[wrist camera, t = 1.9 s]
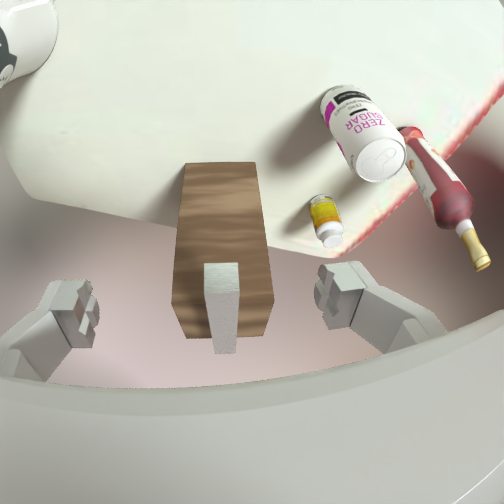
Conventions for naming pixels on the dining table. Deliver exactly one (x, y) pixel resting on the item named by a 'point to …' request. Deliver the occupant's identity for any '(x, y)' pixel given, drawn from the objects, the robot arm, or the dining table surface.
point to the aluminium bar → (222, 304)
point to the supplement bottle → (326, 220)
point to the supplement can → (363, 134)
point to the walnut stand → (221, 245)
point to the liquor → (443, 193)
